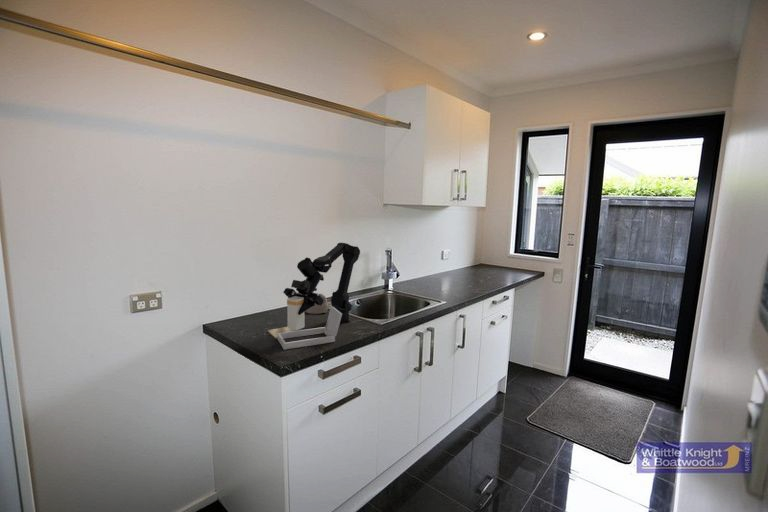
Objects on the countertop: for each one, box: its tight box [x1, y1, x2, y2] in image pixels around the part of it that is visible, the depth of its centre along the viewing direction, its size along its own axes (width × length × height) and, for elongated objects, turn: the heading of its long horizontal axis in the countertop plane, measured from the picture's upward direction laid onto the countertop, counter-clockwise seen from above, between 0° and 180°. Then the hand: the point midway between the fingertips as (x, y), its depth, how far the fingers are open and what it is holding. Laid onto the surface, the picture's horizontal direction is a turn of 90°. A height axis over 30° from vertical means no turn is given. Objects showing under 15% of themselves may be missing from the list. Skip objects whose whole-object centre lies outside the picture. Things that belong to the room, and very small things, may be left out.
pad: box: [267, 326, 295, 339], centre depth 169 cm, size 10×10×1 cm
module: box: [286, 296, 306, 331], centre depth 156 cm, size 5×5×13 cm
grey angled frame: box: [276, 305, 342, 350], centre depth 161 cm, size 25×13×12 cm, turn 117°
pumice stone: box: [304, 293, 330, 315], centre depth 201 cm, size 15×8×10 cm, turn 76°
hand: (293, 313), depth 155 cm, fingers closed on module, 5 cm apart
